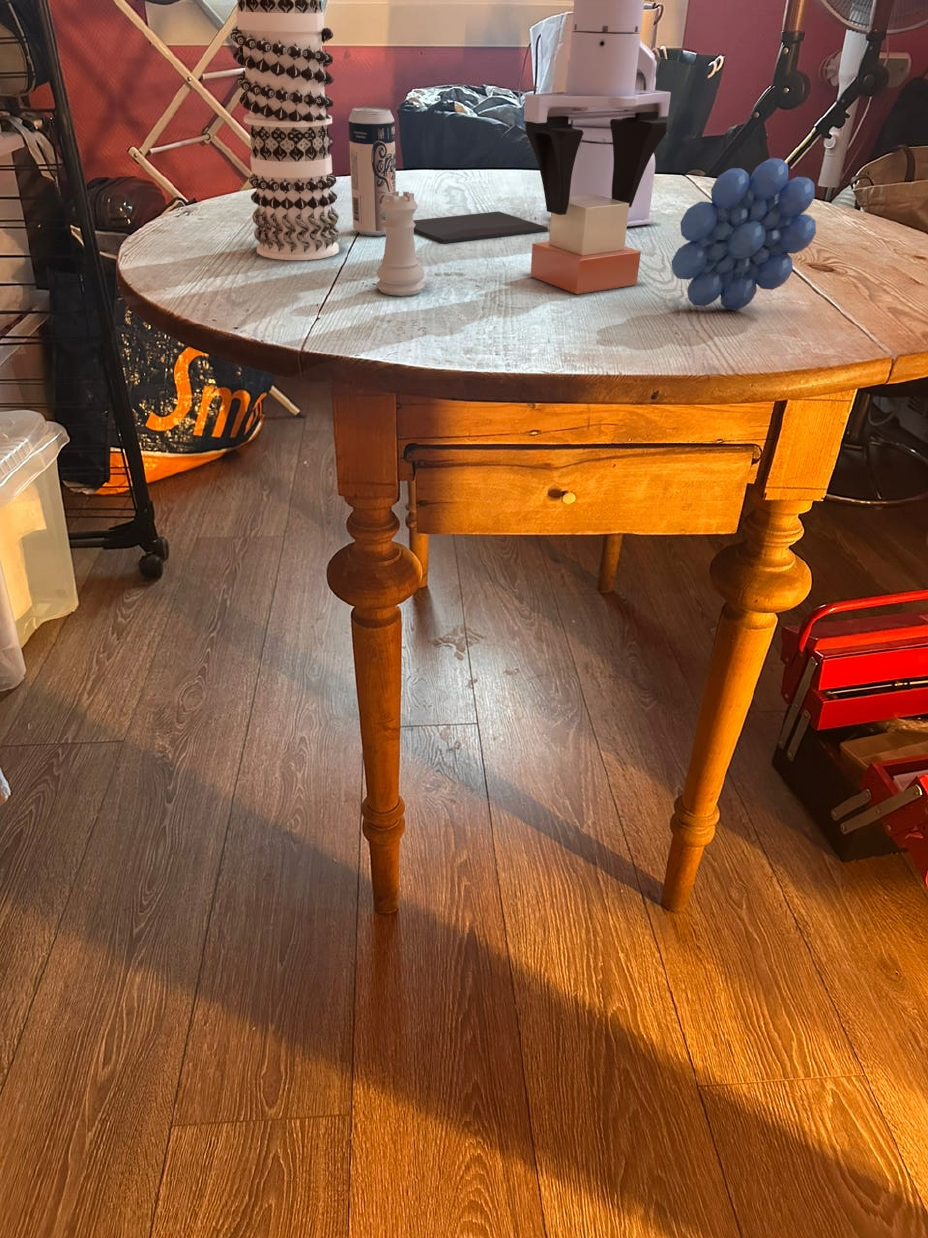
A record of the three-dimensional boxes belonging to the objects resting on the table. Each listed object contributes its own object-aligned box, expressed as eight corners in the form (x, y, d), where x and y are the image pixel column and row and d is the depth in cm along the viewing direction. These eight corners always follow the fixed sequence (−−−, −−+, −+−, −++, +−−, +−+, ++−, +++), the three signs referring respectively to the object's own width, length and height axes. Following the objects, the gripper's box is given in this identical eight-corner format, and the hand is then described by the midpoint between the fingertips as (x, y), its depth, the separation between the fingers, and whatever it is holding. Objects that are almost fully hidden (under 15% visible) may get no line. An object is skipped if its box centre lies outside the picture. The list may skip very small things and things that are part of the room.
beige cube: (590, 238, 88) (594, 193, 86) (624, 249, 85) (629, 203, 83) (548, 244, 86) (551, 198, 84) (581, 255, 83) (586, 207, 80)
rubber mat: (498, 214, 112) (498, 211, 112) (547, 230, 105) (548, 227, 105) (397, 225, 105) (397, 221, 105) (443, 243, 99) (443, 239, 98)
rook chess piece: (375, 283, 85) (372, 188, 80) (424, 283, 85) (423, 189, 81) (375, 296, 81) (372, 198, 77) (426, 296, 81) (426, 198, 77)
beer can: (390, 238, 100) (387, 112, 93) (347, 235, 101) (342, 110, 94) (401, 228, 104) (399, 108, 97) (360, 226, 105) (355, 105, 98)
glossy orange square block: (588, 267, 91) (591, 235, 90) (637, 284, 86) (641, 251, 85) (530, 276, 88) (532, 242, 86) (576, 294, 83) (579, 259, 82)
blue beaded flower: (782, 297, 84) (813, 151, 77) (806, 319, 78) (842, 163, 72) (655, 294, 84) (675, 147, 77) (671, 316, 78) (694, 160, 71)
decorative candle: (286, 236, 100) (263, -49, 85) (360, 246, 96) (348, -48, 82) (233, 253, 93) (199, -54, 79) (310, 265, 90) (288, -53, 75)
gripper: (566, 33, 70) (552, 224, 78) (704, 34, 77) (679, 210, 84) (513, 29, 75) (505, 209, 83) (647, 30, 81) (628, 197, 89)
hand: (589, 209), depth 84 cm, fingers open, 7 cm apart
